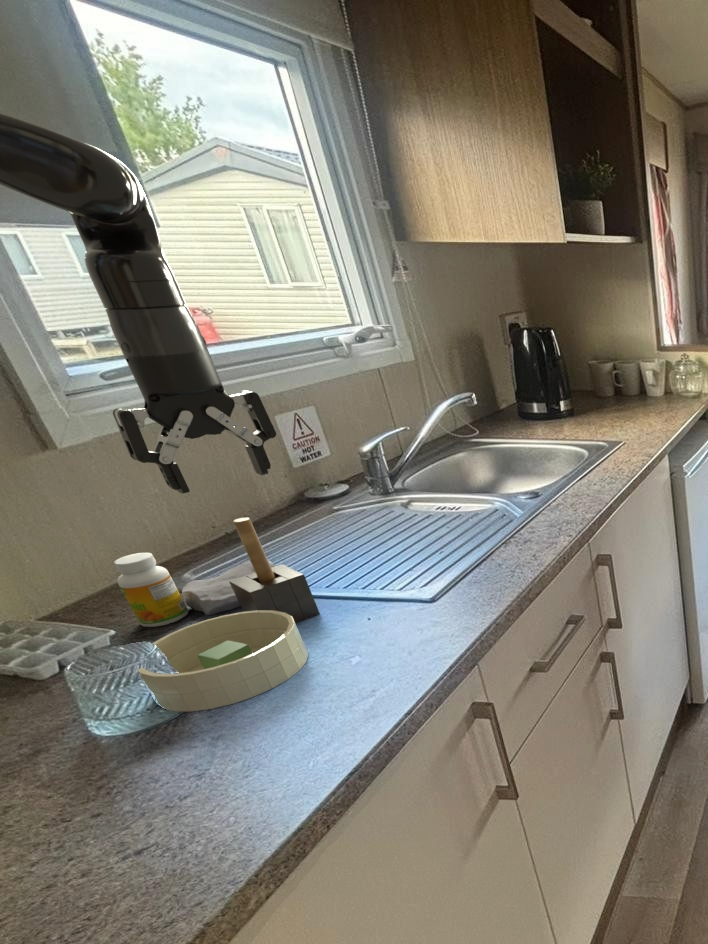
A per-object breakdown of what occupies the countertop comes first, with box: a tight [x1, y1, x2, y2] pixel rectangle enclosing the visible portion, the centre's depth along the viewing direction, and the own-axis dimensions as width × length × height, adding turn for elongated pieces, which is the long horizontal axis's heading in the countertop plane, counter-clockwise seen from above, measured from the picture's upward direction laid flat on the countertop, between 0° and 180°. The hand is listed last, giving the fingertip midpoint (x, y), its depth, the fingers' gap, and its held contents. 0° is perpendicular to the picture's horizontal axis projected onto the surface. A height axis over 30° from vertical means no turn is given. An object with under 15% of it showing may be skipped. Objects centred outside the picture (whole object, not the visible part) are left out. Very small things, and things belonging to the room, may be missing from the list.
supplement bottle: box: [113, 552, 189, 628], centre depth 93 cm, size 5×5×10 cm
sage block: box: [197, 640, 252, 669], centre depth 81 cm, size 4×4×4 cm
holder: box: [229, 563, 321, 625], centre depth 93 cm, size 7×7×7 cm
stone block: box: [181, 560, 277, 616], centre depth 100 cm, size 12×5×10 cm
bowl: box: [137, 610, 309, 713], centre depth 81 cm, size 15×15×6 cm
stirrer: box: [232, 516, 275, 583], centre depth 91 cm, size 2×2×16 cm
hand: (224, 482), depth 84 cm, fingers open, 8 cm apart
